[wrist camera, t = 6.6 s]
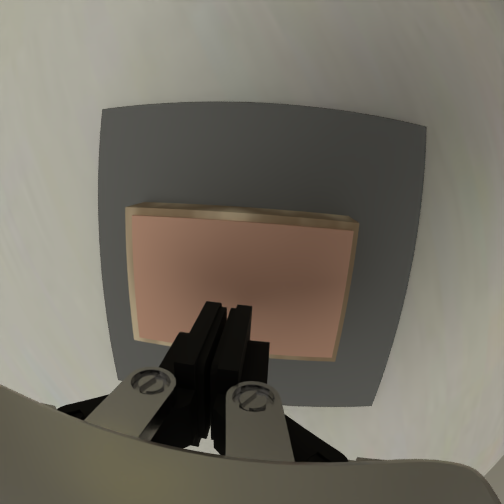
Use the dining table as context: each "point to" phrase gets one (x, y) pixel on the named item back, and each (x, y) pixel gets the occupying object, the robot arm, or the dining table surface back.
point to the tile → (241, 272)
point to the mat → (272, 197)
